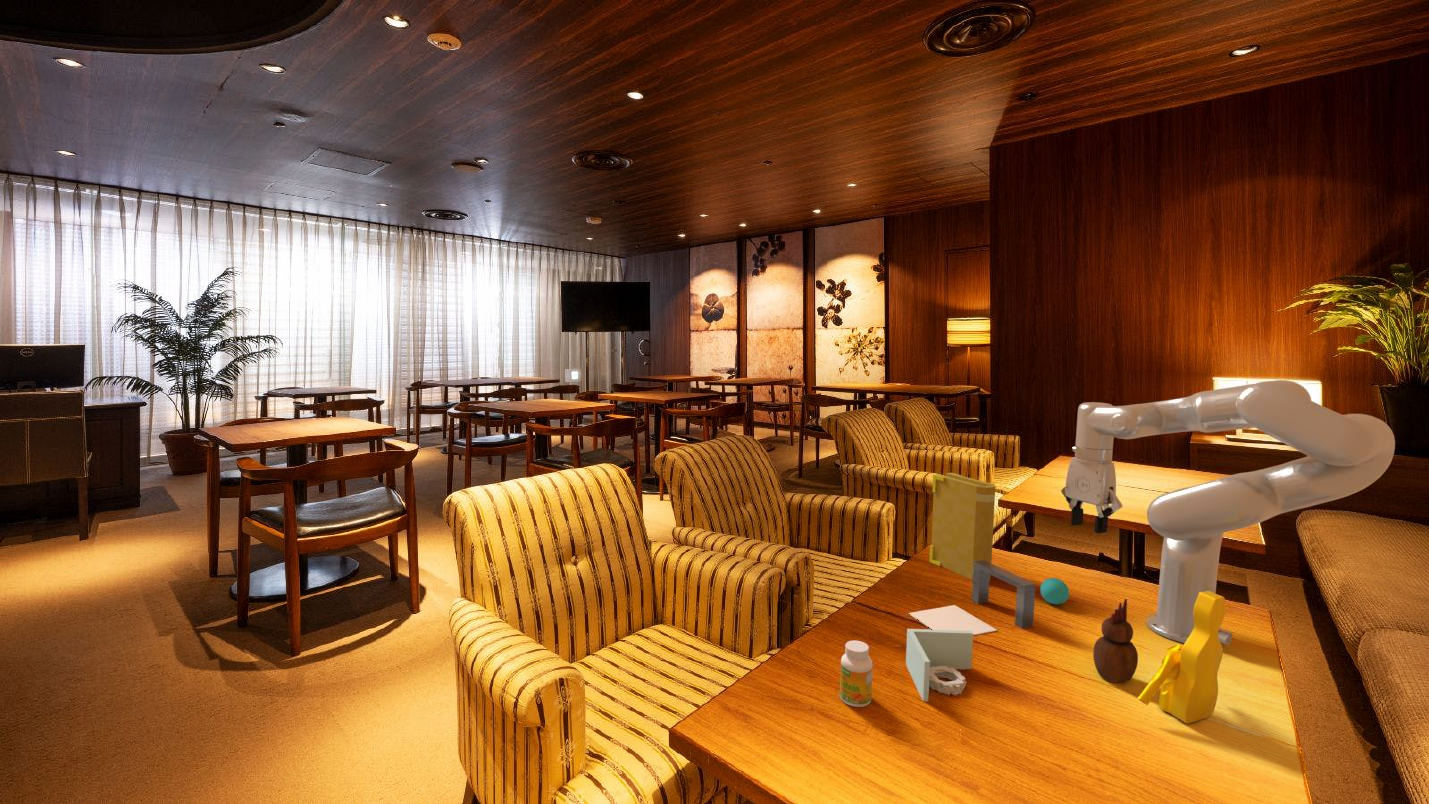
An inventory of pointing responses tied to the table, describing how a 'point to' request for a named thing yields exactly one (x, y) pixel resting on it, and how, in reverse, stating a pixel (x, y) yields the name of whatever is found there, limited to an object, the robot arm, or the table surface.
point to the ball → (1054, 591)
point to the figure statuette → (1192, 666)
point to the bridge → (1023, 586)
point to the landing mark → (952, 620)
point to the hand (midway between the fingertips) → (1088, 527)
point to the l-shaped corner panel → (938, 659)
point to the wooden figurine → (1116, 648)
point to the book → (961, 523)
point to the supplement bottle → (856, 674)
